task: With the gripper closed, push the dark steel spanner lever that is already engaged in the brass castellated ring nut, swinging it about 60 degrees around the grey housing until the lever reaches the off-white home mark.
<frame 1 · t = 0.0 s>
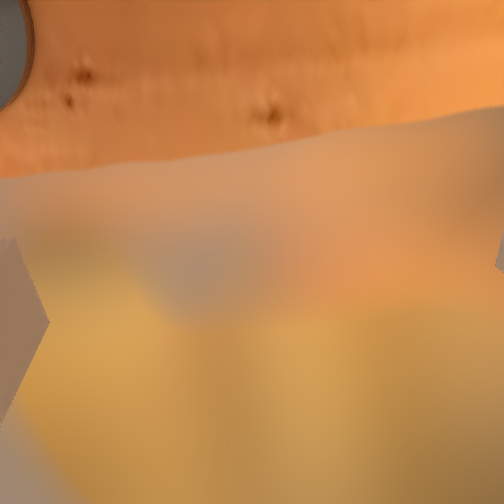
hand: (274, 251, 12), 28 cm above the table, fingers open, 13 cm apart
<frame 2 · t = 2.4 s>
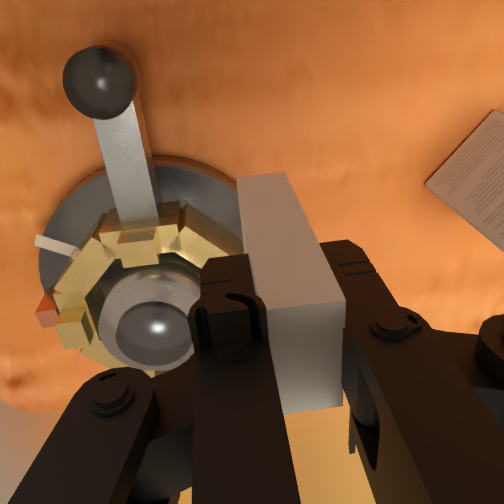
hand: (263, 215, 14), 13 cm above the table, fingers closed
skincare box: (475, 163, 28), on the table
housing: (165, 262, 30), on the table
ring nut: (144, 239, 24), point 4 cm above the table, hinge at 0.0°
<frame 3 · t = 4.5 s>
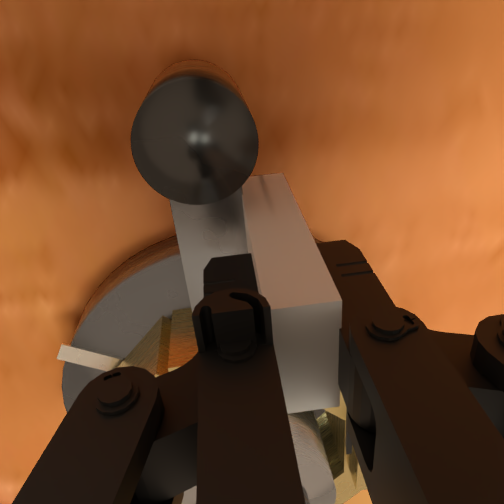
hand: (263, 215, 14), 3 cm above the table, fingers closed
housing: (236, 363, 21), on the table
ring nut: (232, 365, 15), point 4 cm above the table, hinge at 1.0°, touching gripper
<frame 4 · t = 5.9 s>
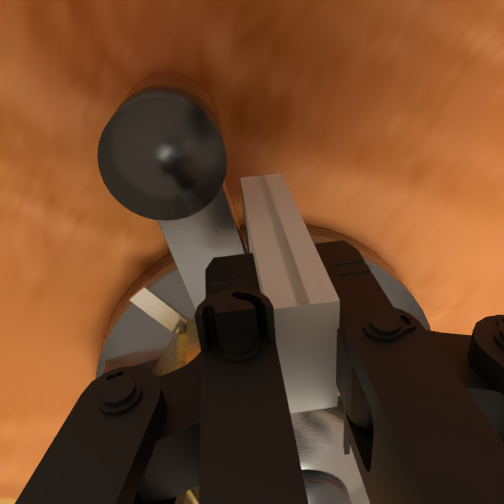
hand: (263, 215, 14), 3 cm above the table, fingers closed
housing: (264, 361, 21), on the table
ring nut: (251, 367, 15), point 4 cm above the table, hinge at 34.6°, touching gripper
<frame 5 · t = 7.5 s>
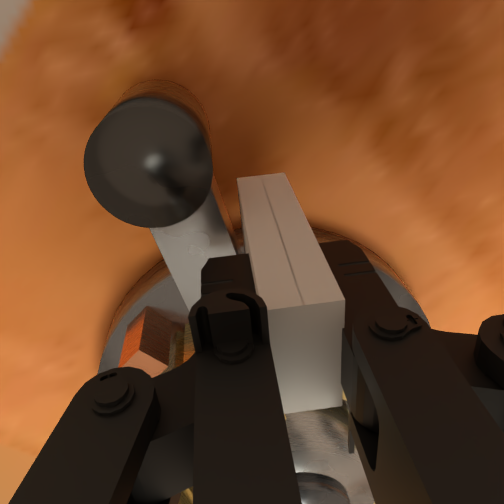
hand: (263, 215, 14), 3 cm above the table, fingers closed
housing: (265, 363, 21), on the table
ring nut: (249, 370, 15), point 4 cm above the table, hinge at 61.8°
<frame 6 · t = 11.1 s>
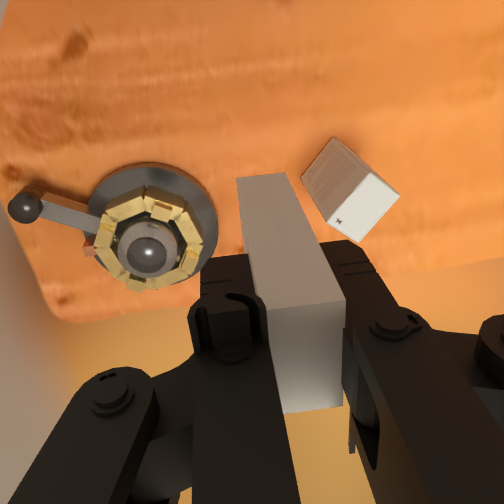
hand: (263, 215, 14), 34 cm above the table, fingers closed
skincare box: (329, 166, 50), on the table
housing: (153, 224, 51), on the table
ring nut: (110, 229, 46), point 4 cm above the table, hinge at 61.8°
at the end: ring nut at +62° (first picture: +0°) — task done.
